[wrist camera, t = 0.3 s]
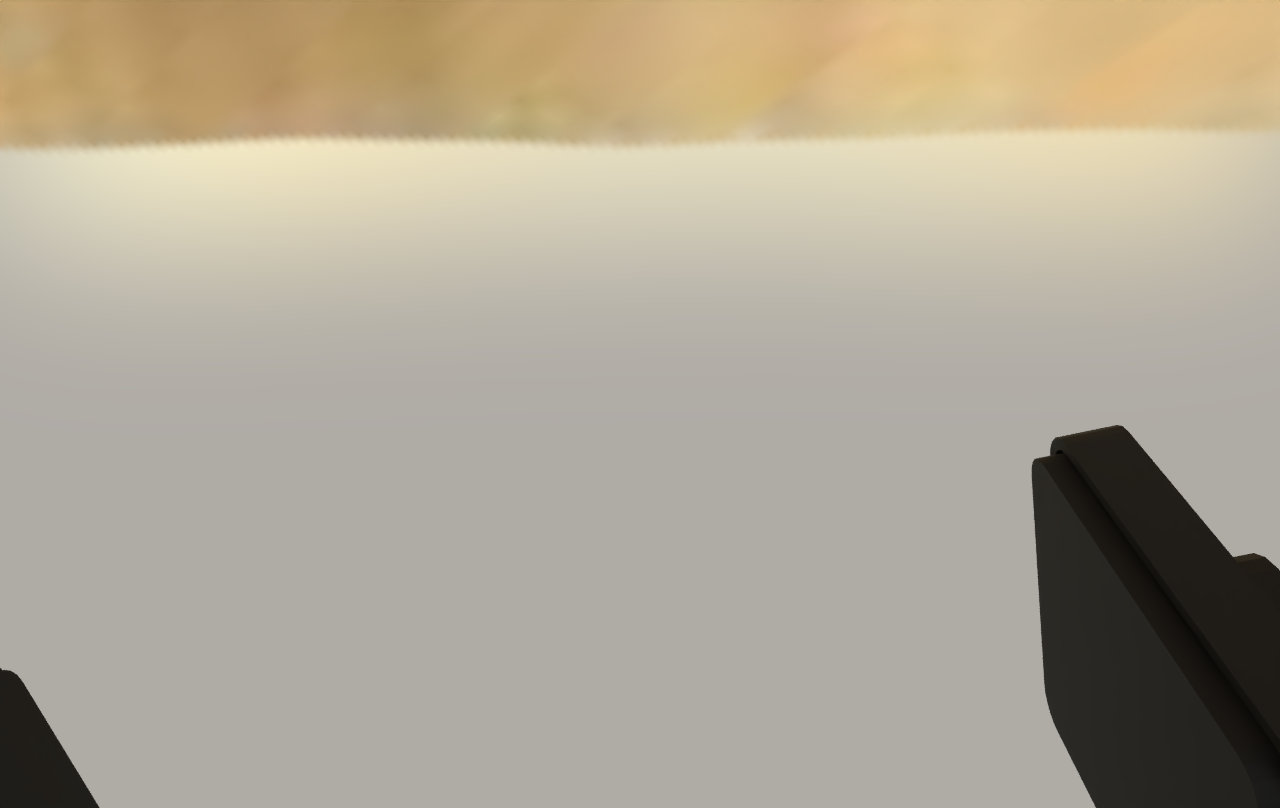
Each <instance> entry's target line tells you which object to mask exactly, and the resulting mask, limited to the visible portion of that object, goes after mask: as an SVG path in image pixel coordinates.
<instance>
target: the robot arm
mask: <svg viewBox="0 0 1280 808" xmlns="http://www.w3.org/2000/svg"><path fill="white" fill-rule="evenodd" d="M1032 487H1033V503H1034V520H1035V537H1036V553H1037V569H1038V586H1039V602H1040V619H1041V635H1042V649H1043V650H1042V651H1043V667H1044V683H1045V693H1046V697H1047V702H1048V706H1049V710H1050V713H1051V716H1052V719H1053V722H1054V724H1055V726H1056V729H1057V730H1058V733H1059V735H1060V737H1061V739H1062V741H1063V743H1064V745H1065V747H1066V748H1067V751H1068V753H1069V755H1070V757H1071V759H1072V761H1073V763H1074V765H1075V767H1076V769H1077V771H1078V772H1079V775H1080V777H1081V779H1082V781H1083V783H1084V785H1085V787H1086V789H1087V791H1088V793H1089V794H1090V797H1091V799H1092V801H1093V802H1094V804H1095V807H1096V808H1280V570H1279V569H1278V568H1277V567H1276V566H1275V565H1273V564H1272V563H1271V562H1270V561H1269V560H1268V559H1267V558H1266V557H1263V556H1260V555H1257V554H1255V553H1252V554H1247V555H1242V556H1237V557H1232V555H1231V554H1230V553H1229V552H1228V551H1227V549H1226V548H1225V547H1224V546H1223V545H1222V543H1221V542H1220V541H1219V540H1218V539H1217V537H1216V536H1215V535H1214V534H1213V533H1212V531H1211V530H1210V529H1209V528H1208V527H1207V525H1206V524H1205V523H1204V522H1203V521H1202V519H1201V518H1200V517H1199V516H1198V515H1197V513H1196V512H1195V511H1194V510H1193V509H1192V508H1191V506H1190V505H1189V504H1188V502H1187V501H1186V500H1185V499H1184V498H1183V496H1182V495H1181V494H1180V493H1179V492H1178V490H1177V489H1176V488H1175V487H1174V486H1173V485H1172V483H1171V482H1170V481H1169V480H1168V478H1167V477H1166V476H1165V475H1164V474H1163V473H1162V471H1161V470H1160V469H1159V468H1158V466H1157V465H1156V464H1155V463H1154V462H1153V460H1152V459H1151V458H1150V457H1149V456H1148V454H1147V453H1146V452H1145V451H1144V450H1143V448H1142V447H1141V446H1140V445H1139V444H1138V442H1137V441H1136V440H1135V439H1134V438H1133V437H1132V435H1131V434H1130V433H1129V432H1128V431H1127V430H1126V429H1125V428H1124V427H1123V426H1119V425H1115V426H1111V427H1105V428H1100V429H1096V430H1091V431H1086V432H1082V433H1076V434H1071V435H1066V436H1062V437H1057V438H1055V439H1054V440H1053V441H1052V444H1051V449H1050V456H1047V457H1042V458H1037V459H1035V460H1034V461H1033V464H1032ZM0 808H99V806H98V805H97V803H96V801H95V800H94V798H93V796H92V795H91V793H90V791H89V790H88V788H87V787H86V785H85V783H84V782H83V780H82V778H81V777H80V775H79V773H78V772H77V770H76V769H75V767H74V765H73V764H72V762H71V761H70V759H69V757H68V756H67V754H66V752H65V750H64V749H63V747H62V746H61V744H60V742H59V741H58V739H57V737H56V736H55V734H54V732H53V731H52V729H51V728H50V726H49V724H48V723H47V721H46V719H45V718H44V716H43V715H42V713H41V711H40V710H39V708H38V706H37V705H36V703H35V701H34V700H33V698H32V696H31V695H30V693H29V692H28V690H27V689H26V687H25V685H24V683H23V682H22V681H21V679H20V678H19V677H18V675H17V674H15V673H13V672H12V671H8V670H2V669H1V668H0Z"/></svg>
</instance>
